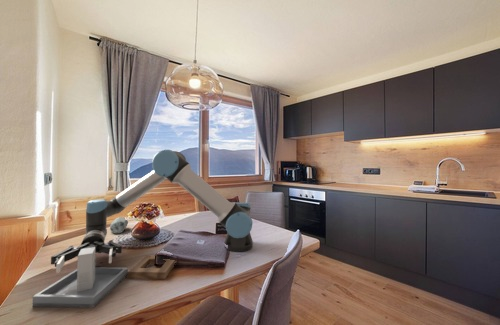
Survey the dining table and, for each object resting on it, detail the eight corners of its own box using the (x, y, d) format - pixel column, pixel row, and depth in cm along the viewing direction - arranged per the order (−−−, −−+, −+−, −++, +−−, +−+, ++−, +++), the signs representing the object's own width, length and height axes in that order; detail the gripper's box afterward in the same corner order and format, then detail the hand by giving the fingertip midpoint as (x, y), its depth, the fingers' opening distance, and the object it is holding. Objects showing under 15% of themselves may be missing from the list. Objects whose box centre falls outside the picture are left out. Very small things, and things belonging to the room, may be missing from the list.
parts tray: (127, 275, 81) (127, 267, 81) (93, 307, 63) (93, 297, 63) (80, 274, 81) (80, 266, 81) (32, 306, 63) (32, 296, 63)
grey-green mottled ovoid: (127, 228, 127) (120, 213, 128) (110, 237, 124) (103, 222, 125) (133, 227, 140) (127, 214, 141) (118, 235, 136) (112, 221, 137)
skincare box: (80, 283, 74) (80, 248, 74) (95, 280, 76) (96, 246, 76) (76, 292, 69) (77, 255, 69) (92, 289, 71) (93, 252, 71)
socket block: (177, 261, 94) (177, 256, 94) (164, 279, 80) (165, 272, 80) (145, 261, 93) (145, 255, 93) (127, 278, 79) (127, 271, 79)
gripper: (128, 245, 94) (128, 266, 76) (52, 257, 81) (32, 285, 63) (128, 228, 94) (129, 245, 76) (53, 237, 81) (32, 260, 63)
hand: (85, 263), depth 69 cm, fingers open, 13 cm apart
